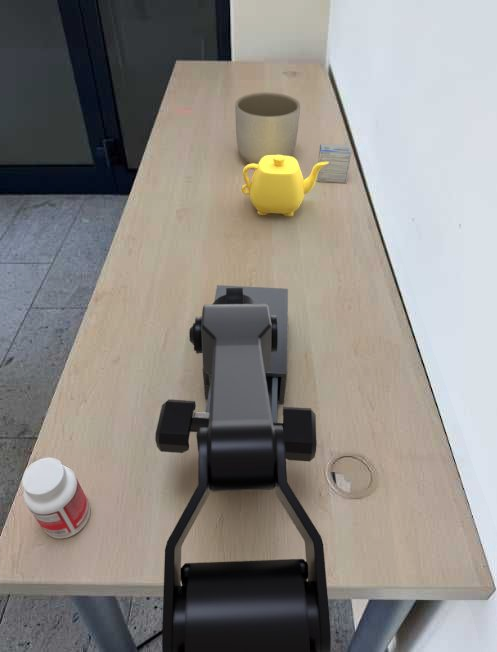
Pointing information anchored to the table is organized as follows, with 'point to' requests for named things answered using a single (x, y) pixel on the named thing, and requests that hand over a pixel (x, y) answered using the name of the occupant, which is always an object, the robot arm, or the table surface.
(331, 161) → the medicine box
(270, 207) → the teapot
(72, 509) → the pill bottle
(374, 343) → the table surface
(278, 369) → the cabinet
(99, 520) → the table surface
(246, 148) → the planter
